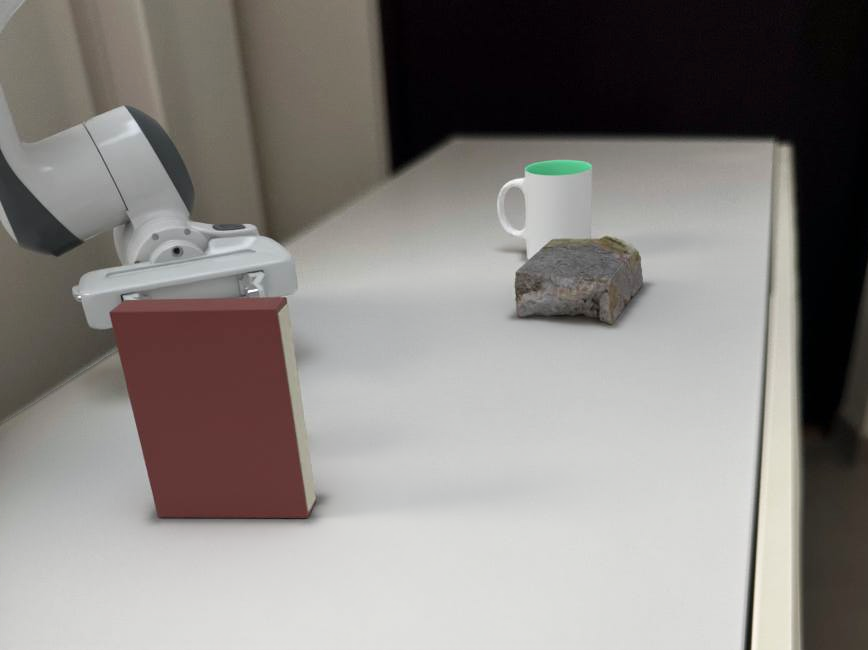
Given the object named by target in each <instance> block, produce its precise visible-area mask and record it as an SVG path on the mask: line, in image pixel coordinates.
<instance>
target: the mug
mask: <svg viewBox="0 0 868 650" xmlns="http://www.w3.org/2000/svg"><path fill="white" fill-rule="evenodd" d="M512 188H519V189H520V190H521V191H522V193H523V196H524V205H525V223H524V226H523V228H522V229H517V228H515V227H513V226H512V225H511V223H510V222H509V220H508V218H507V215H506V210H505V200H506V195H507V193H508V191H509V190H510V189H512ZM592 197H593V165H592V164H591V163H589V162H587V161H582V160H576V159H552V160H544V161H538V162H534V163H531V164H529V165H527V166H525V167H524V177H520V178H515V179H511V180H509V181H507V182H506V183H505V184H503V186H502V187H501V189H500V191H499V193H498V196H497V202H496V211H497V217H498V220H499V224H500V225H501V227H502V228H503V230H504V231H505V232H506V233H508V234H509V235H510V236H511V237H515V238H518V239H523V240H524V241H525V244H526V259H527V261H528V260H529V259H530V258H532V257H533V256H534V255H535V254H536V253H537V252H539V250H540V249H541V248H542V247H544V246H545V245H546V244H547V243H548V242H549V241H550V240H552V239H561V238H573V239H587V238H592V217H593V216H592V214H593V213H592V208H593V204H592V203H593V198H592Z"/></svg>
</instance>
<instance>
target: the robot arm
mask: <svg viewBox="0 0 868 650" xmlns="http://www.w3.org/2000/svg"><path fill="white" fill-rule="evenodd" d="M26 1H27V0H0V35H1V33H2V32H3V30H4V28H5V26H6V25H7V24H8V22H9V21H10V20H11V18H12V17H13V16H14V15H15V14H16V12H17V11H18V10H19V9H20V8H21V6H22V5H23V4H24V3H26ZM8 102H9V101H8V99H7V96H6V93H5V90H4V87H3V85H2V82H1V80H0V222H1V224H2V226H3V228H4V229H5V231H6V232H7V233H8V235H9V236H10V237H11V239H12V240H14V241H15V243H17V244H18V246H19V247H20V248H22V249H25V250H27V251H28V252H32V253H34V254H35V253H36V254H39V255H42V256H46V257H52V258H57V259H58V258H60V257H61V256H63V255H65V254H66V253H69V252H71V251H72V250H74V249H76V248H77V247H79V246H81V245H83V244H85V243H86V241H87V240H90V239H93V238H95V237H97V236H100V235H101V234H103V233H106V232H108V231H111V230H113V232H112V233H113V241H114V247H115V250H116V254H117V257H118V259H119V262H120V264H121V265H118V266H113V267H107V268H101V269H100V268H99V269H96V270H92V271H89V272H86V273H84V274H83V275H82V276H80V279H79V280H78V284H77V285H74V286H72V288H71V289H72V290H71V294H72V296H73V298H74V299H75V301H77V302H79V303H81V304H82V309H83V313H84V315H85V318H86V323H87V325H88V327H89V328H91V329H94V330H108V329H113V327H112V322H111V318H110V314H109V312H110V311H111V310H113V309H114V308H115V307H117V306H118V305H119V304H121V303H122V302H123V301H125V300H154V299H207V298H259V297H288V296H289V297H290V296H291V295H294V294H295V293H296V292H297V291H298V290H299V289H298V288H299V283H298V273H297V269H296V263H295V259H294V256H293V255H292V253H291V252H290V251H289V250H288V249H287V248H285V247H284V246H283V245H282V244H280V243H279V242H278V241H276V240H274V239H272V238H270V237H267V236H265V235H260V233H259V230H258V227H257V226H256V225H254V224H253V223H215V224H212V223H204V222H199V221H193V220H192V219H191V217H190V216H192V214H193V211H194V206H195V195H196V193H195V188H194V185H193V181H192V179H191V175H190V173H189V170H188V168H187V166H186V164H185V161H184V160H183V158H182V155H181V154H180V152H179V150H178V148H177V147H176V145H175V143H174V142H173V139H171V137H170V136H169V134H168V133H167V132H166V130H165V128H163V126H162V125H161V124H160V122H158V120H156V119H155V118H154V117H152V116H151V115H149V114H147V113H146V112H145V111H142V110H141V109H139V108H137V107H134V106H132V105H129V104H128V105H127V104H123V105H121V106H117V107H116V108H113V109H110V110H108V111H105V112H103V113H101V114H98V115H95V116H93V117H90V118H88V119H86V120H83V121H82V122H81V123H79V124H77V125H74V126H71V127H69V128H66V129H65V130H62V131H60V132H58V133H55V134H53V135H50V136H47V137H45V138H43V139H41V140H38V141H35V142H24V141H22V140H21V136H20V134H19V131H18V128H17V125H16V122H15V119H14V115H13V113H12V111H11V108H10V105H9V103H8Z"/></svg>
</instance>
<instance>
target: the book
mask: <svg viewBox="0 0 868 650" xmlns="http://www.w3.org/2000/svg"><path fill="white" fill-rule="evenodd" d="M109 314H110V318H111V322H112V327H113V328H112V330H113V331H112V332H113V335H114V338H115V344H116V348H117V352H118V356H119V360H120V363H121V368H122V372H123V377H124V381H125V386H126V389H127V393H128V399H129V401H130V402H129V403H130V407H131V411H132V414H133V418H134V423H135V427H136V430H137V435H138V440H139V443H140V448H141V452H142V456H143V461H144V465H145V469H146V473H147V477H148V482H149V485H150V489H151V494H152V498H153V502H154V507H155V511H156V515H157V517H158V518H206V519H207V518H211V519H212V518H215V519H217V518H218V519H219V518H220V519H221V518H223V519H225V518H228V519H229V518H231V519H232V518H233V519H234V518H235V519H236V518H237V519H242V518H243V519H246V518H247V519H253V518H254V519H259V518H260V519H308V518H309V515H310V514H311V511H313V510H312V509H313V508H314V506H315V504H316V502H317V496H316V488H315V482H314V474H313V469H312V467H313V466H312V461H311V454H310V447H309V440H308V432H307V426H306V419H305V412H304V406H303V399H302V390H301V383H300V378H299V372H298V364H297V357H296V351H295V342H294V336H293V330H292V324H291V317H290V316H291V315H290V309H289V304H288V298H287V296H282V297H259V298H207V299H154V300H125V301H123V302H122V303H121V304H119V305H118V306H117V307H115V308H114V309H113V310H111V311H110V312H109Z"/></svg>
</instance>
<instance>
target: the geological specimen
mask: <svg viewBox="0 0 868 650" xmlns="http://www.w3.org/2000/svg"><path fill="white" fill-rule="evenodd" d="M643 284H644V277H643V268H642V256H641V254H640V251H639V250H638V249H637V248H636V247H635V246H634V244H632V243H630V242H628V241H625V240H623V239H621V238H618V237H612V236H608V235H605V236H602V237H599V238H598V237H597V238H594V237H593V238H592V237H591V238H587V239H573V238H561V239H552V240H550V241H549V242H548V243H547V244H546V245H545V246H544V247H542V248H541V249H540V250H539V252H537V253H536V254H535V255H534V256H533V257H532V258H530V259H529V260H528V259H527V261H526V262H524V264H522V265H521V266H520V267H519V268H518V269H517V270H516V271H515V278H514V290H515V291H514V292H515V299H514V300H515V310H516V313H517V317H519V318H528V317H536V316H545V317H551V316H568V315H569V316H572V317H574V316H578V315H581V314H582V315H584V316H585V317H586V318H590V319H591V318H592V319H594V318H598V319H599V320H600V322H603V323H606V324H608V325H614V323H615V321H617V319H618V317H619V316H620V315H621V314H622V312H623V310H624V309H625V307H626V306H628V304H629V303H630V301H631V298H634V296H636V294H637V293H638V291H640V289H641V288H642V287H643Z"/></svg>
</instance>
